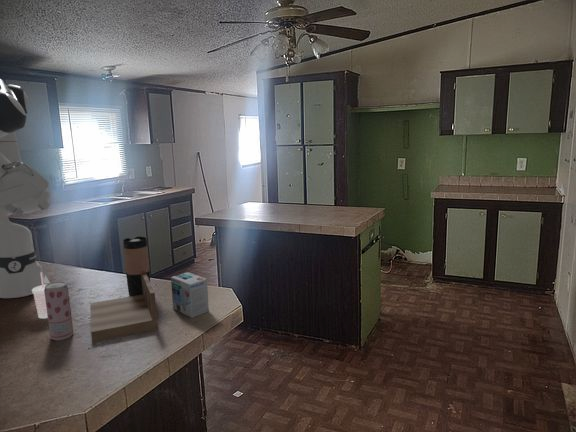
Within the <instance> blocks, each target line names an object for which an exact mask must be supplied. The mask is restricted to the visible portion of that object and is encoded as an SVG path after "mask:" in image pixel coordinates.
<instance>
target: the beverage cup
mask: <svg viewBox="0 0 576 432" xmlns="http://www.w3.org/2000/svg"><path fill="white" fill-rule="evenodd" d="M42 272H43V271H42ZM42 272H40V275H41V282H42V285H41V286H37V287H35V288H33V289H32V293H33V294H32V295H33V298H34V303H35V307H36V312H37V317H38V318H39V319H48V315H47V308H46V300H45V293H44V290H45V288H44V287H45V286H46V285H44V284H43V276H42Z"/></svg>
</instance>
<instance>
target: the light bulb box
mask: <svg viewBox="0 0 576 432" xmlns="http://www.w3.org/2000/svg"><path fill="white" fill-rule="evenodd" d="M170 281H171V282H170V283H171V294H172V295H171V297H172V299H171V300H172V309H174V310H175V311H177V312H179V313H181V314H183V315H185V316H187V317H189V318H194V317H197V316H200V315H203V314H206V313H208V312H209V292H208V290H209V289H208V279H207V278H205V277H204V276H203V277H202V276H200V275H197V274H194V273H192V272H189V271H188V272H184V273H179V274H177V275H174V276H171V277H170Z"/></svg>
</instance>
